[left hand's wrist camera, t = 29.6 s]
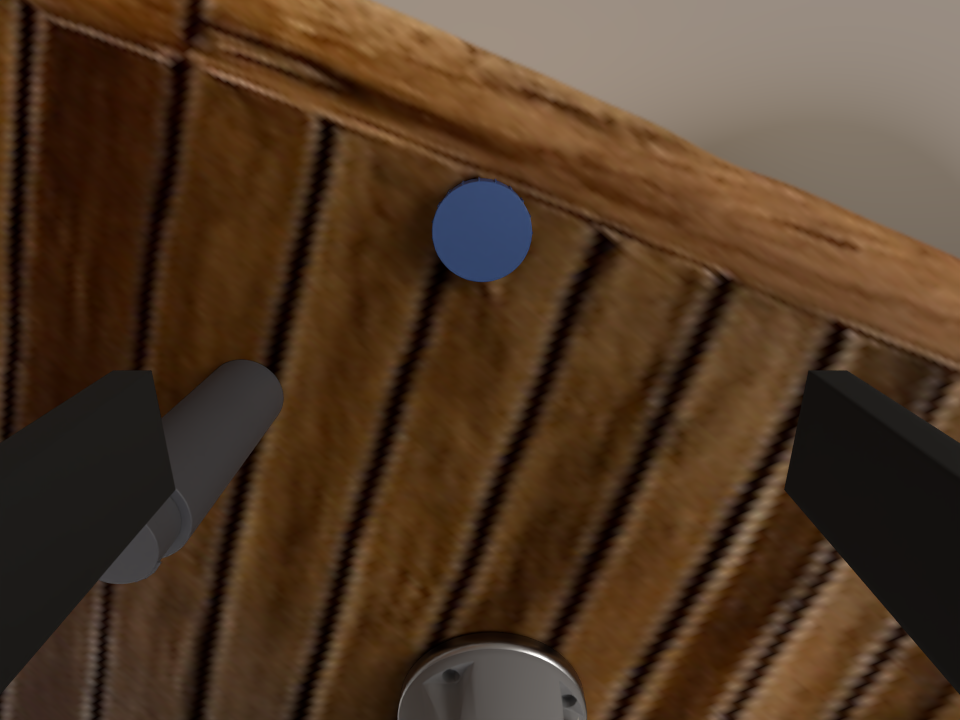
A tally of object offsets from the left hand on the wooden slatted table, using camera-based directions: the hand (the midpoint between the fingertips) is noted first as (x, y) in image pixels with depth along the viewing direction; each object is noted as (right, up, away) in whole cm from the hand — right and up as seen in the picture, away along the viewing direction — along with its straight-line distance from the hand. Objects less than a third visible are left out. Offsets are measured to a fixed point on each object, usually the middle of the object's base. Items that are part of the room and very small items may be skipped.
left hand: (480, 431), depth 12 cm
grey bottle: (-16, -1, +28) cm, 32 cm away
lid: (0, +9, +23) cm, 24 cm away
